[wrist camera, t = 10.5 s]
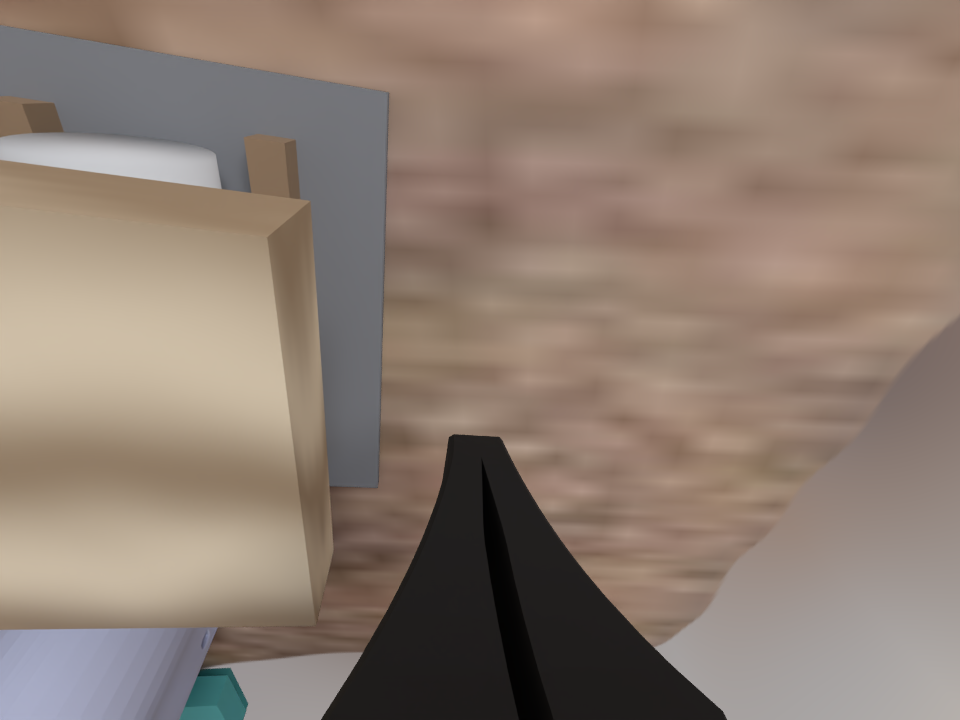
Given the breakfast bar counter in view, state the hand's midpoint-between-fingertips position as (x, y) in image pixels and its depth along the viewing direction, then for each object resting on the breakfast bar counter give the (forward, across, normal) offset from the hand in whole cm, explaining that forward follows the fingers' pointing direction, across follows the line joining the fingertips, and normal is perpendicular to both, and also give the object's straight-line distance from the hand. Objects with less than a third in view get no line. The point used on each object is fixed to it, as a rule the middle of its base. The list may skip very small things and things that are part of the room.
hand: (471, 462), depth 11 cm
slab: (+1, +10, 0) cm, 10 cm away
